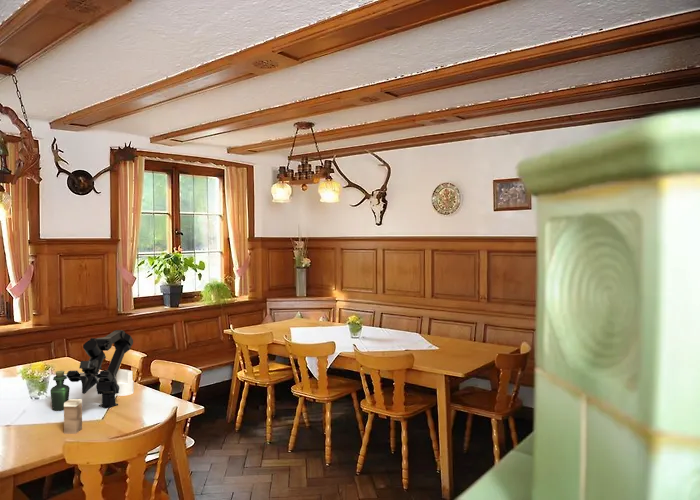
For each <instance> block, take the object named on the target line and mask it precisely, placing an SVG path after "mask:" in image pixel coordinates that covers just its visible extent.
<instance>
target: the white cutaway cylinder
mask: <svg viewBox="0 0 700 500" xmlns="http://www.w3.org/2000/svg"><path fill="white" fill-rule="evenodd" d="M133 372H134V371H133V370H129V369H122V368H119V369H118V372H117V374H116V380H117V384H118V386H119V393H117V394H115V396H118V397H123V396H126V397H127V396H130V395H132V394H134V392H135V391H134V390H135V381H134V380H133V378H134V377H133Z"/></svg>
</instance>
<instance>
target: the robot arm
mask: <svg viewBox="0 0 700 500" xmlns="http://www.w3.org/2000/svg"><path fill="white" fill-rule="evenodd" d="M133 344H134V339H133V337H132V336H131V335H130V334H128V333H126V332H125V330H123V329H116V330H113V331H112V332H111V333H109V334H107V335H106V336H104V337H97V338H96V337H95V338H93V337H90V338H89V340H87V341H86V342H85V343H84V344H83V345H82V348H83V349H84V351H85V353H86V355H87V356H88V357H89V360H80V363H79V367H78V368H79V369H81V371H82V372H79V370H68V371H67V373H66V374H65V375H66V377H67V379H68V380H69V381H70V382H72V383H75V382H76V383H78V382H80V383H81V393H82V395H86V394H87V392H89V390H90V389H91V388H93V387H94V386H95V385H96V386H95V387H96V392H97V395H101V404H98V406H99V407H101V408H103V409H108V408H112V407H116V406H118V405H119V403H117V402H116V395H115V394H117V393H119V386H118V384H117V380H116V374H117V372H118V370H119V369H120V366H121V364H122V361H123V359H124V356H125V354H126V353H128V352H129V351H130V350H131V347H132V346H133ZM113 345H114V349H115V350H114V352H113V355H112V357H111V359H110V362H109V365H108V366H107V367H108V368H107V370H102V364H103V362H104V360H105V359H106V358H107V357H106V353H105V351H106V352H107V351H110V350H111V348H112V346H113Z"/></svg>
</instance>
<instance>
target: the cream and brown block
mask: <svg viewBox="0 0 700 500" xmlns="http://www.w3.org/2000/svg"><path fill="white" fill-rule="evenodd" d="M82 430H83V398H80V399H79V398H78V399H77V398H74V399H73V398H70V399H69V400H68V401H66V402H65V403H64V410H63V434H64V435H65V434H70V435H71V434H72V435H74V434H75V435H76V434H77V433H79V432H81V431H82Z"/></svg>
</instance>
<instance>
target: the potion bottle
mask: <svg viewBox="0 0 700 500" xmlns="http://www.w3.org/2000/svg"><path fill="white" fill-rule="evenodd" d="M66 375H67V374H65V370H57V371H55V375H54V376H53V378H52V380H53V381H55V384H56V385H54V386H52V387H51V389H50V399H51V408H52V409H51V410H52V411H54V412H62V411H64V403H65V402H66V401H68V400H70V399H69V398H70V391H71V390H70V386H69V385H67V384H64V383H65V381H66V379H68V377H67V376H66Z"/></svg>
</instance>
